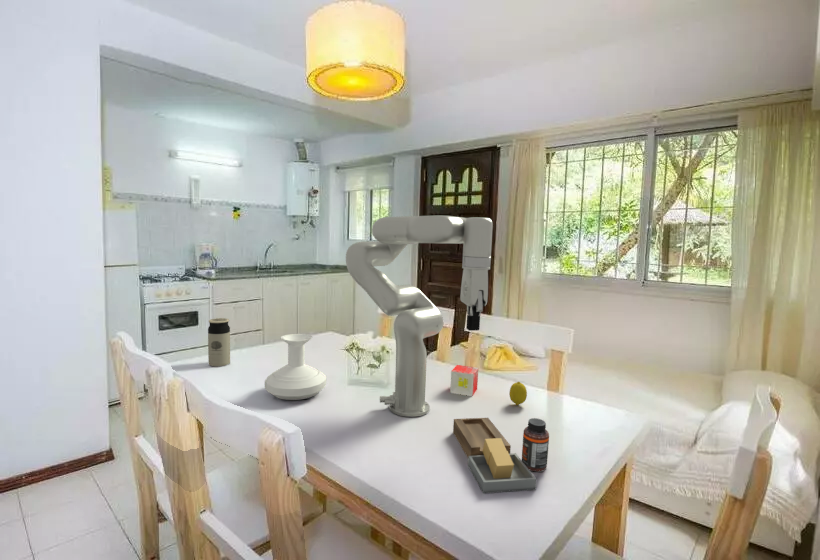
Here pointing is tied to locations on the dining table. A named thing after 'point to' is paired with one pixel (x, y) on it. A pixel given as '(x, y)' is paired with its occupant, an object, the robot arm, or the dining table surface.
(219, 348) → the travel mug
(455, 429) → the slot block
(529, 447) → the supplement bottle
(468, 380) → the red patterned box
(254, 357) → the dining table surface
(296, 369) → the white vase
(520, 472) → the tray
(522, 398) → the lemon
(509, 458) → the yellow wooden cube
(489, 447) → the yellow cube
